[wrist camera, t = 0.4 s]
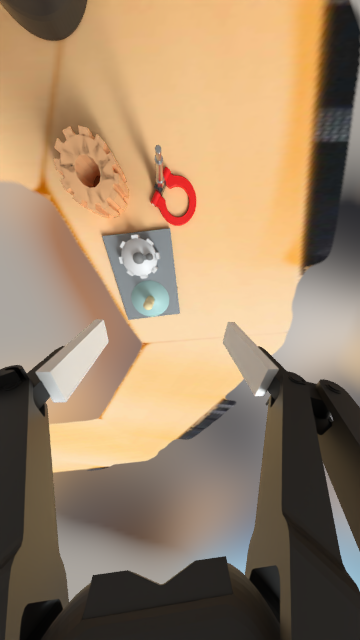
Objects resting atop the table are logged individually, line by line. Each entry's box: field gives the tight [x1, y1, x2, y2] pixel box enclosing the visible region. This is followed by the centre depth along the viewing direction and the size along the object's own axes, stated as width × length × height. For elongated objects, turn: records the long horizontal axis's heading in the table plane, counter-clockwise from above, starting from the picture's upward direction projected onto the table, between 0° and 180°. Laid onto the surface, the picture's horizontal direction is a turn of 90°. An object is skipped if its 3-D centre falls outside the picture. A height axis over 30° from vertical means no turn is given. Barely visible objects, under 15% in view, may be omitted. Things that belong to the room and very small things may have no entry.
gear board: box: [102, 228, 180, 320], centre depth 33 cm, size 22×16×7 cm
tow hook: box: [151, 145, 196, 226], centre depth 24 cm, size 8×13×9 cm
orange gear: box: [54, 125, 129, 218], centre depth 25 cm, size 10×10×6 cm
